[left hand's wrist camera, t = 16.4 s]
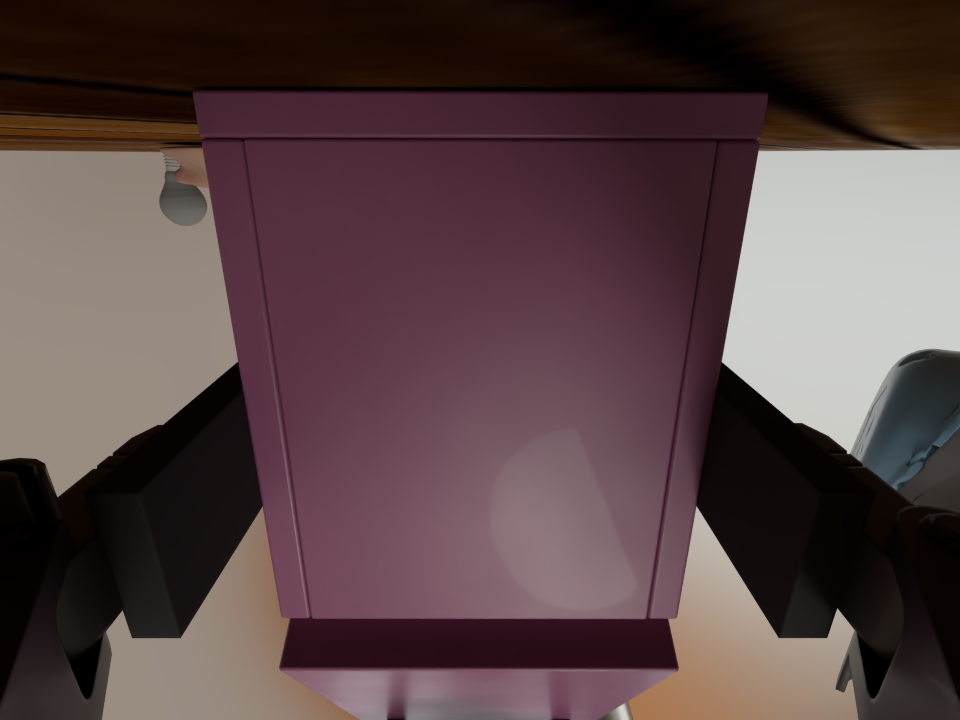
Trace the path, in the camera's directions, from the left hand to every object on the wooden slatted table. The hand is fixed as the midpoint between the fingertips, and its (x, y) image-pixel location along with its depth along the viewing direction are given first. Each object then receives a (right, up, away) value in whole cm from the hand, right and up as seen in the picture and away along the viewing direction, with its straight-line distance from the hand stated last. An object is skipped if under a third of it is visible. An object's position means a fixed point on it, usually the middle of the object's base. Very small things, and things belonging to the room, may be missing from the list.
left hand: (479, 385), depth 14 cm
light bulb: (-43, +30, +58) cm, 78 cm away
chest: (0, +7, +1) cm, 7 cm away
